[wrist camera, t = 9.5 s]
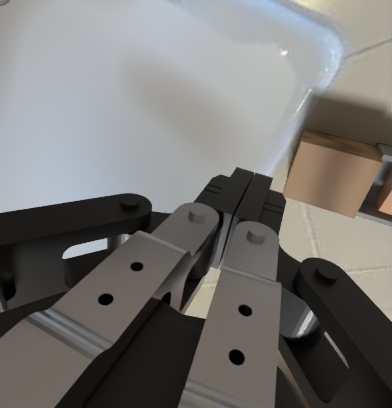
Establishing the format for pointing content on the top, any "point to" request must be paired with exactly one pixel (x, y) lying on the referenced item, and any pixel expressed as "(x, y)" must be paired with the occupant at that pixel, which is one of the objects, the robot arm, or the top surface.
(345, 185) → the brown block
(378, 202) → the tile
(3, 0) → the plastic bottle
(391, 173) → the tile
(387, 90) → the top surface
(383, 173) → the tray
